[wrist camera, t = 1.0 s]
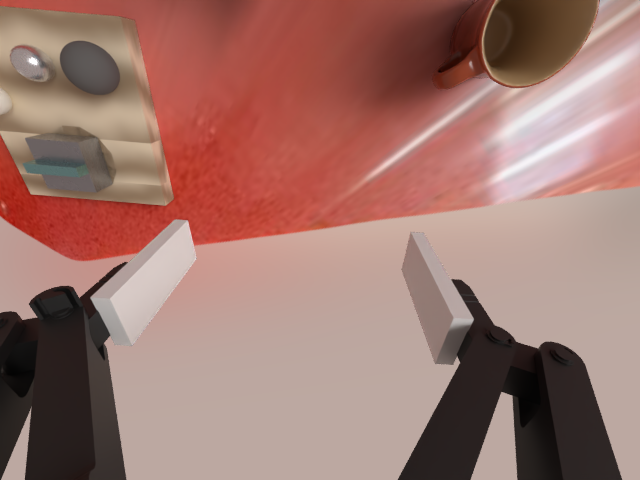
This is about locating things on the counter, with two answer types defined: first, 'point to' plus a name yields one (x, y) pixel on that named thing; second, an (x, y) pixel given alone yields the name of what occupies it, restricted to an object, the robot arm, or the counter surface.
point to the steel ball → (32, 63)
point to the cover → (68, 162)
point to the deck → (84, 104)
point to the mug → (516, 41)
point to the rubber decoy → (89, 67)
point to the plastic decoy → (5, 102)
